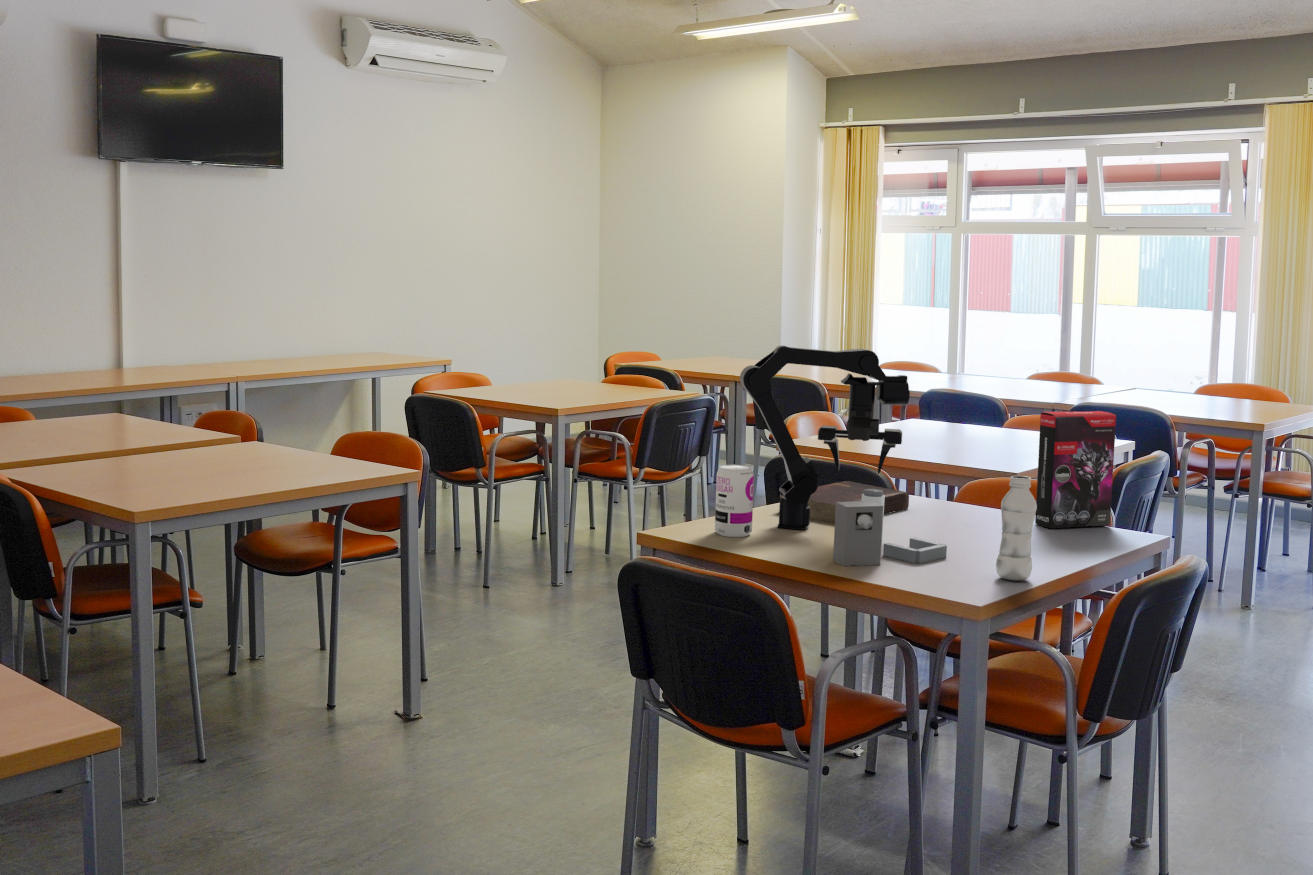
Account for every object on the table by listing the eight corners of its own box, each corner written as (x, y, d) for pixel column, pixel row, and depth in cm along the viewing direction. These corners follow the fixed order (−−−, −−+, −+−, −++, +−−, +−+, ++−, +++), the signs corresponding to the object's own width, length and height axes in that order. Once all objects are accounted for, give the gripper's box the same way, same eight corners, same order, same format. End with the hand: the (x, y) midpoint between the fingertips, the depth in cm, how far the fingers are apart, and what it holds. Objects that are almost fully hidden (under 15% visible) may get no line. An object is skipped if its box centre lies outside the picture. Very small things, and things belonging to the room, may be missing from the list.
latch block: (833, 560, 231) (835, 502, 229) (869, 558, 233) (872, 501, 231) (843, 566, 226) (846, 506, 224) (880, 564, 228) (883, 505, 226)
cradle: (883, 555, 236) (883, 543, 236) (913, 548, 243) (914, 537, 242) (917, 563, 230) (918, 551, 229) (948, 556, 236) (948, 545, 236)
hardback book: (843, 526, 266) (844, 505, 266) (779, 513, 279) (780, 493, 278) (908, 510, 287) (909, 491, 287) (845, 499, 300) (846, 480, 299)
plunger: (839, 522, 233) (840, 505, 232) (855, 521, 234) (856, 504, 233) (857, 531, 225) (858, 513, 224) (874, 530, 226) (875, 513, 225)
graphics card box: (1048, 530, 266) (1057, 414, 262) (1031, 523, 272) (1039, 410, 269) (1110, 527, 271) (1120, 413, 267) (1091, 521, 277) (1100, 410, 274)
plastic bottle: (989, 575, 222) (996, 474, 219) (1023, 575, 223) (1030, 474, 220) (1002, 583, 216) (1009, 479, 213) (1037, 583, 216) (1044, 480, 213)
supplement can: (755, 531, 255) (758, 465, 253) (746, 539, 248) (748, 471, 246) (720, 528, 258) (722, 463, 256) (710, 535, 250) (712, 468, 248)
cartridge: (858, 546, 243) (861, 491, 242) (859, 542, 248) (862, 487, 246) (881, 548, 242) (884, 493, 241) (882, 543, 247) (885, 489, 245)
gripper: (817, 406, 253) (814, 475, 255) (903, 410, 249) (899, 480, 251) (821, 401, 264) (818, 467, 266) (903, 405, 260) (900, 472, 262)
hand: (858, 472), depth 261 cm, fingers open, 9 cm apart
